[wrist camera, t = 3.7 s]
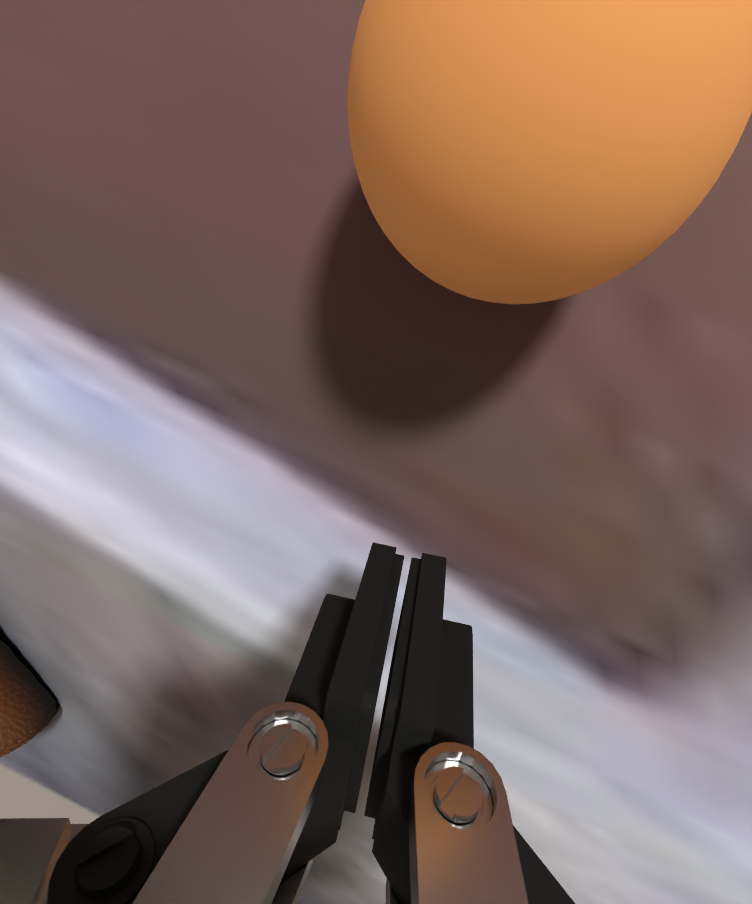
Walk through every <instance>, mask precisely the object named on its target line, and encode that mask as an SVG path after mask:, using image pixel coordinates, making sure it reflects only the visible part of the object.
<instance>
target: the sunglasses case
mask: <svg viewBox="0 0 752 904" xmlns="http://www.w3.org/2000/svg"><path fill="white" fill-rule="evenodd" d="M59 707H60V705H58V704H56V702H55V701H54V699H53V698H52V697H51V695H50V694H49V692H48V691H47V690H46V689H45V688H44V687H43V686H42V685H41V684H40V683H39V682H38V681H37V679H36V678H35V676H34V675H33V674H32V673H31V672H30V671H29V670H28V669H27V668H26V667H25V666H24V665H23V664H22V663H21V662H20V661H19V660H18V659H17V658H16V656H15V655H14V653H13V652H12V651H11V649H10V648H9V647H8V646H7V645H6V644H5V643H4V642H2V641H0V757H3V756H4V755H6V754H9V753H10V752H12V751H14V750H15V749H17V748H19V747H20V746H22V745H23V744H26V743H27V742H28V741H29V740H31V739H32V738H33V737H34V736H35V735H36V734H37V733H39V732H40V731H41V730H43V728H44V727H46V726H47V725H48V724H49V723H50V721H51V719H52V718H53V717H54V716H55V715H56V714H57V712H58V709H59Z"/></svg>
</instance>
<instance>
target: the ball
mask: <svg viewBox="0 0 752 904" xmlns="http://www.w3.org/2000/svg"><path fill="white" fill-rule="evenodd" d="M347 112H348V125H349V137H350V143H351V148H352V153H353V159H354V164H355V168H356V171H357V174H358V178H359V181H360V184H361V187H362V191H363V193H364V196H365V198H366V200H367V202H368V205H369V207H370V209H371V211H372V214H373V215H374V217H375V219H376V220H377V222H378V224H379V225H380V227H381V229H382V231H383V232H384V234H385V235H386V236H387V238H388V239H389V240H390V242H391V243H392V244H393V245H394V247H395V248H396V249H397V250H398V252H399V253H400V254H401V255H402V256H403V257H404V258H405V259H406V260H407V261H408V262H410V263H411V264H412V265H413V266H414V267H415V268H416V269H417V270H419V271H420V272H422V273H423V274H424V275H426V276H427V277H428V278H430V279H431V280H433V281H434V282H436V283H438V284H440V285H442V286H444V287H445V288H447V289H449V290H451V291H454V292H456V293H459V294H462V295H464V296H467V297H470V298H474V299H478V300H483V301H487V302H492V303H503V304H534V303H541V302H547V301H553V300H558V299H562V298H565V297H568V296H572V295H575V294H578V293H582V292H584V291H586V290H589V289H591V288H593V287H595V286H598V285H600V284H602V283H605V282H607V281H609V280H610V279H612V278H614V277H615V276H617V275H619V274H621V273H622V272H624V271H626V270H628V269H629V268H631V267H633V266H634V265H635V264H637V263H638V262H639V261H641V260H642V259H644V258H645V257H646V256H648V255H649V254H650V253H652V252H653V251H655V250H656V249H657V248H658V247H659V246H660V245H661V244H662V243H663V242H664V241H666V240H667V239H668V238H669V237H670V236H671V235H672V234H673V233H674V232H675V231H677V229H678V228H679V227H680V226H681V225H682V224H683V223H684V222H685V221H686V219H687V218H688V217H689V216H690V215H691V214H692V213H693V212H694V211H695V209H696V208H697V207H698V206H699V204H700V203H701V202H702V200H703V199H704V197H705V196H706V195H707V193H708V192H709V191H710V189H711V188H712V186H713V185H714V184H715V182H716V181H717V179H718V177H719V176H720V174H721V172H722V170H723V169H724V167H725V165H726V164H727V162H728V160H729V158H730V157H731V155H732V153H733V151H734V150H735V148H736V146H737V144H738V141H739V139H740V137H741V135H742V133H743V130H744V128H745V126H746V124H747V122H748V119H749V117H750V115H751V112H752V0H366V1H365V4H364V6H363V9H362V12H361V15H360V18H359V22H358V26H357V31H356V35H355V39H354V43H353V47H352V54H351V61H350V69H349V76H348V100H347Z"/></svg>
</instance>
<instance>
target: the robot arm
mask: <svg viewBox="0 0 752 904" xmlns="http://www.w3.org/2000/svg"><path fill="white" fill-rule="evenodd" d="M395 553H396V547H392V546H387V545H382V544H378V543H373V544H372V547H371V550H370V553H369V557H368V560H367V563H366V567H365V570H364V573H363V577H362V580H361V583H360V587H359V590H358V593H357V596H356V600H353V599H349V598H344V597H340V596H336V595H331V594H327V595H326V596H325V598H324V601H323V603H322V606H321V608H320V611H319V614H318V616H317V619H316V621H315V624H314V627H313V629H312V632H311V634H310V637H309V640H308V642H307V645H306V647H305V650H304V652H303V655H302V658H301V660H300V663H299V665H298V668H297V671H296V673H295V676H294V678H293V681H292V684H291V686H290V689H289V691H288V694H287V697H286V699H285V702H278V703H275V704H272V705H269V706H266V707H264V708H262V709H261V710H259V711H258V712H257V713H255V714H254V715H253V716H252V717H251V718H250V719H249V720H248V722H247V723H246V724H245V725H244V726H243V728H242V730H241V731H240V733H239V734H238V736H237V738H236V739H235V741H234V742H233V744H232V746H231V747H230V749H229V750H227V751H225V752H223V753H221V754H219V755H218V756H216V757H214V758H212V759H210V760H208V761H206V762H204V763H202V764H200V765H198V766H196V767H194V768H193V769H191V770H189V771H187V772H185V773H183V774H181V775H179V776H177V777H175V778H173V779H171V780H169V781H167V782H166V783H164V784H162V785H160V786H158V787H156V788H154V789H152V790H150V791H148V792H146V793H144V794H142V795H141V796H139V797H137V798H135V799H133V800H131V801H129V802H127V803H125V804H123V805H121V806H119V807H117V808H116V809H114V810H112V811H110V812H108V813H106V814H104V815H102V816H100V817H99V818H97V819H96V820H95V821H93V822H91V823H90V824H70V820H69V818H19V819H18V818H17V819H16V818H15V819H0V904H297V902H298V900H299V897H300V894H301V892H302V889H303V886H304V884H305V881H306V879H307V876H308V873H309V871H310V868H311V865H312V861H313V858H314V857H316V856H317V855H318V854H320V853H321V852H323V851H324V850H325V849H327V848H328V847H329V846H331V845H332V844H334V843H335V842H336V839H337V834H338V830H340V826H341V822H342V817H343V812H344V810H345V811H349V812H352V813H355V811H356V805H357V800H358V795H359V790H360V785H361V780H362V774H363V769H364V764H365V759H366V754H367V748H368V743H369V738H370V733H371V728H372V722H373V717H374V712H375V707H376V702H377V697H378V691H379V686H380V681H381V676H382V671H383V665H384V660H385V655H386V650H387V645H388V639H389V634H390V629H391V624H392V618H393V613H394V608H395V602H396V597H397V592H398V587H399V581H400V576H401V571H402V565H403V560H404V556H403V555H398V554H395ZM445 575H446V558H444V557H439V556H435V555H430V554H425V553H422V557H421V559H417V558H412V559H411V564H410V569H409V574H408V580H407V585H406V590H405V595H404V600H403V605H402V610H401V615H400V620H399V625H398V630H397V635H396V640H395V645H394V650H393V656H392V661H391V667H390V673H389V678H388V684H387V690H386V695H385V701H384V707H383V712H382V718H381V724H380V729H379V735H378V741H377V746H376V752H375V758H374V763H373V769H372V775H371V780H370V786H369V792H368V797H367V803H366V809H365V815H364V816H367V817H371V818H375V824H374V831H373V837H372V839H374V843H373V849H372V853H373V854H374V856H375V858H376V860H377V861H378V863H379V865H380V867H381V869H382V870H383V872H384V874H385V876H386V878H387V881H386V904H575V903H574V902H573V900H572V899H571V898H570V897H569V895H568V894H567V893H566V891H565V890H564V889H563V888H562V886H561V885H560V884H559V883H558V881H557V880H556V879H555V878H554V876H553V875H552V874H551V873H550V871H549V870H548V869H547V867H546V866H545V865H544V864H543V862H542V861H541V860H540V859H539V857H538V856H537V855H536V854H535V852H534V851H533V850H532V849H531V847H530V846H529V845H528V843H527V842H526V841H525V840H524V838H523V837H522V836H521V835H520V833H519V832H518V831H517V830H516V828H515V827H514V826H513V824H512V819H511V814H510V809H509V804H508V800H507V795H506V791H505V788H504V785H503V782H502V779H501V777H500V775H499V774H498V772H497V771H496V769H495V768H494V766H493V764H492V763H491V762H490V761H489V760H488V759H487V758H486V757H484V756H483V755H482V754H481V753H480V752H478V751H476V750H475V749H474V737H473V634H472V627H471V626H470V625H466V624H461V623H457V622H452V621H448V620H443V605H444V590H445Z"/></svg>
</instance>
